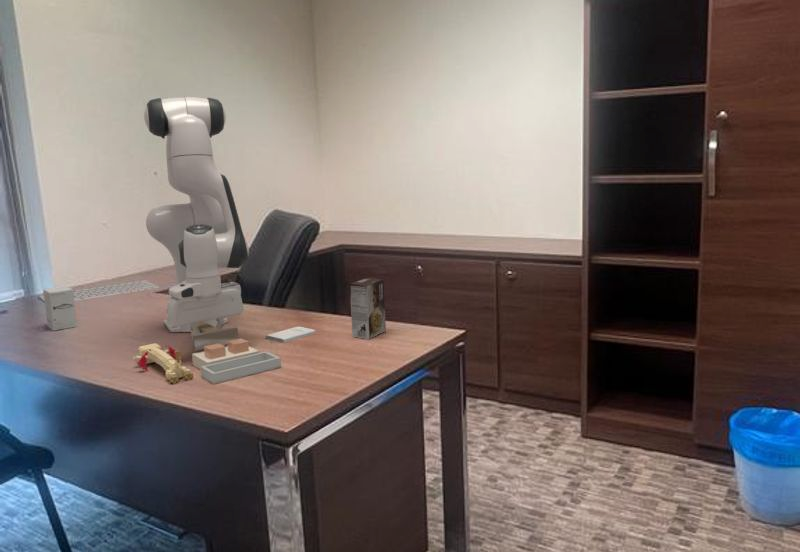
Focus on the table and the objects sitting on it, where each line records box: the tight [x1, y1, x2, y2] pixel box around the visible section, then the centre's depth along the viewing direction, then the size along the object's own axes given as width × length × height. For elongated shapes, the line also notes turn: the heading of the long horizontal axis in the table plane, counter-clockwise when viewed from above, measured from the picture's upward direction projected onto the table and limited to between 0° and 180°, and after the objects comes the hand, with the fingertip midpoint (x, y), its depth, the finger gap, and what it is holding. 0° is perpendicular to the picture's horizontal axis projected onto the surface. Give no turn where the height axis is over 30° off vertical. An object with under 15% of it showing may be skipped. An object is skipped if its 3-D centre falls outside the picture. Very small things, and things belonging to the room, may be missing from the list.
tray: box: [200, 351, 282, 385], centre depth 171 cm, size 8×18×2 cm, turn 128°
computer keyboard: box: [37, 279, 161, 303], centre depth 277 cm, size 43×19×2 cm, turn 128°
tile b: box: [226, 338, 250, 354], centre depth 179 cm, size 4×4×2 cm
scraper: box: [190, 322, 239, 351], centre depth 187 cm, size 14×12×4 cm
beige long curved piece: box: [132, 343, 194, 384], centre depth 174 cm, size 10×9×25 cm
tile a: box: [203, 343, 226, 359], centre depth 175 cm, size 4×4×2 cm
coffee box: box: [349, 277, 387, 340], centre depth 200 cm, size 9×6×16 cm
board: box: [191, 345, 260, 370], centre depth 178 cm, size 10×14×3 cm
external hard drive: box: [265, 326, 316, 344], centre depth 203 cm, size 2×8×12 cm
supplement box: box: [42, 286, 78, 332], centre depth 222 cm, size 7×7×13 cm
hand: (208, 336), depth 186 cm, fingers closed on scraper, 3 cm apart
